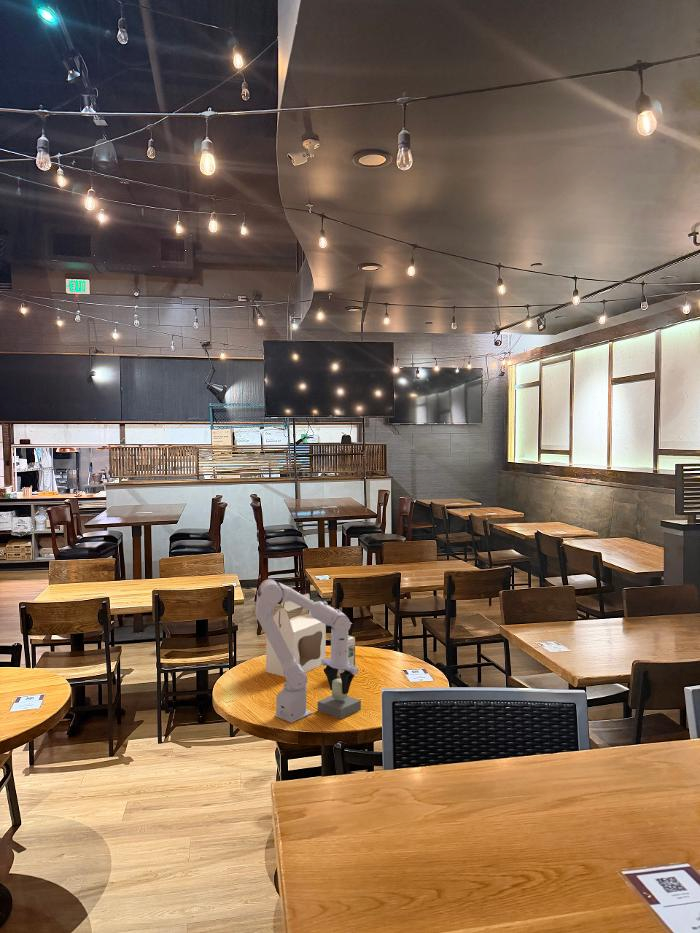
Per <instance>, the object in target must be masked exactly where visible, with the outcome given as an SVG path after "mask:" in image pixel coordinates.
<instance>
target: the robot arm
mask: <svg viewBox="0 0 700 933" xmlns="http://www.w3.org/2000/svg"><path fill="white" fill-rule="evenodd" d="M303 595H304V594H302V593H300V592H298V591H297V590H295V589H293V588H291V587H290V586H288V585H285V584H284V583H281V582H277V581H275V580H274V579H271V578H268V579H265V580H263V581H262V582H261V583H260V584H259V587H258V590H257V591H256V603H255V611H254V612H255V613H254V614H255V617H256V619H257V621H258V623H259V624H260V626H261V628H262V630H263V632H264V633H265V637H266V636H267V638H268V640H269V642H270V644H271V645H272V647H273V649H274V651H275V653H276V655H277V657H278V659H279V661H280V663H281V664H282V666H283V668H284V676H285V677H284V676H283V677H284V678H285V679H286V680H285V682H284V684H283V688H282V689H281V690H280V691H279V692H277V694H276V697H275V698H276V700H275V701H276V702H275V703H276V705H275V708H276V709H275V712H276V713H274V717H276V718H278V717H279V719H280V720H281V719H282V720H283V721H286V722H289V723H294V722H296V721H298V720H301V719H303V718H306V717H308V716H310V715H311V714H313V711H311V710H307V684H308V675H307V672H306V673H305V672H304V671H303V669H302V666H301V664H299V663H298V662H297V661H296V660H295V659H294V657H293V655H292V653H291V651H290V649H289V647H288V645H287V644H286V642H285V640H284V638H283V636H282V634H281V632H280V630H279V628H278V626H277V624H276V623H275V621H274V619H273V617H274V616H273V613H274V610H275V608H276V606H278V604H279V603H283V602H287V601H291V602H293V603H295V604H297V605H299V606H301V607H300V608H302V609H303V608H305V609H307V610H309V611H310V613H311V616H312V617H313V618H315V619H317V620H318V621H320V622H322V623H324V624H326V626H329V627H331V630H330V631H331V633H330V634H331V635H330V658H324V659H321V665H320V666H322V667H323V666H325V667H324V668H323V672H324V675H325V677H326V679H327V681H328V686H329V689H330V691H332V680H334V679H338V678H337V677H338V676H337V673H338V669H339V670H343V671H344V672H343V673H340V677H339V678H340V679H341V681H342V693H343V694H344V695H345V694H347V695H348V693H349V691H350V688H351V687H350V686H351V684H352V681H353V679H354V677H355V676H356V675H358V674H359V667H357V666H356V665H355V666H354V665H352V664H350V663H349V661H348V636H349V630H350V629H351V626H352V624H351V621H350V619H349V617H348V615H346V614H345V613H344V612H342V611H341V610H340V609H338V608H336V609H335V608H334V607H332V606H331V605H328V602H327V601H326V600H323V601H321V600H318V601H317V600H316V601H314V600H313V601H311V600H312V599H308V598H307V597H305V596H303Z"/></svg>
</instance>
